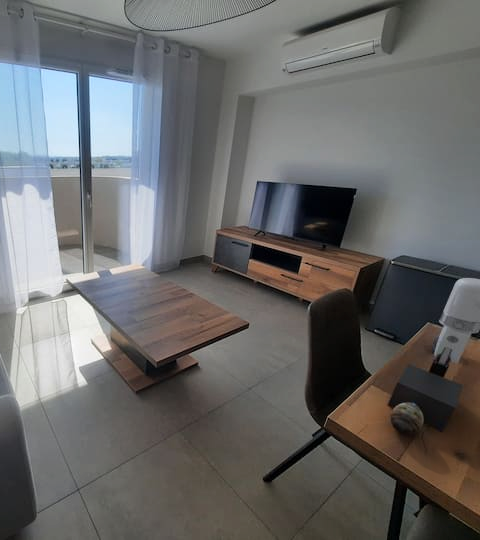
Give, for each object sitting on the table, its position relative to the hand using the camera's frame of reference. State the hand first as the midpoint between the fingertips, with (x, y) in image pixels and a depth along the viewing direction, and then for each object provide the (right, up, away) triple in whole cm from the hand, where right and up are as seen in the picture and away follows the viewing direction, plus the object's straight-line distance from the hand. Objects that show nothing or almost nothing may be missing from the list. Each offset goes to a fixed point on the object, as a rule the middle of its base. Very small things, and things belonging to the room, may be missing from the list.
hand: (436, 373), depth 88 cm
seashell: (-23, -10, -12) cm, 28 cm away
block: (+21, +2, +17) cm, 27 cm away
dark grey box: (-12, -7, -6) cm, 15 cm away
